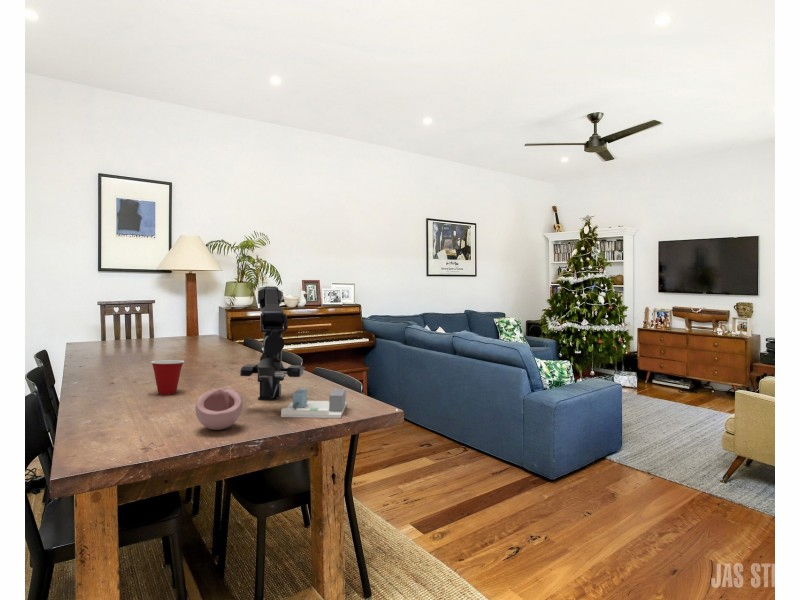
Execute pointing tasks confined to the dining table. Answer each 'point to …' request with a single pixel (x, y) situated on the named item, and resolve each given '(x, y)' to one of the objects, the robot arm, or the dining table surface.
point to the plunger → (300, 398)
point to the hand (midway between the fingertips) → (272, 397)
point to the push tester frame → (320, 407)
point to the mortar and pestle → (218, 408)
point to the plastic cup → (167, 375)
